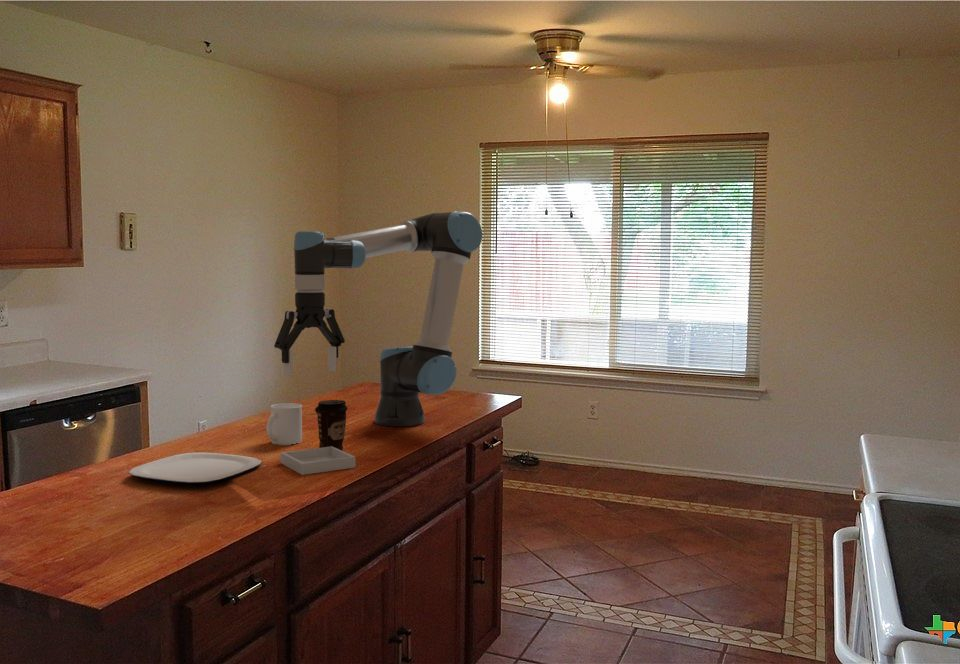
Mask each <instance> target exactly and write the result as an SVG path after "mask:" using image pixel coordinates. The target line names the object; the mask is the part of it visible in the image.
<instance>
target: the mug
mask: <svg viewBox="0 0 960 664" xmlns="http://www.w3.org/2000/svg"><path fill="white" fill-rule="evenodd" d="M302 411H303V405H302V404H300V403H294V402H293V403H292V402H289V403H288V402H284V403H276V404H272V405H270V415H269V417H268V419H267V421H266V435H267V437H268V439H270V442H271V444H273V445H275V444H278V445H277V446H292V445H291V444H294V445H297V444H296V443H298V444H301V442H302V440H303V412H302Z"/></svg>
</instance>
